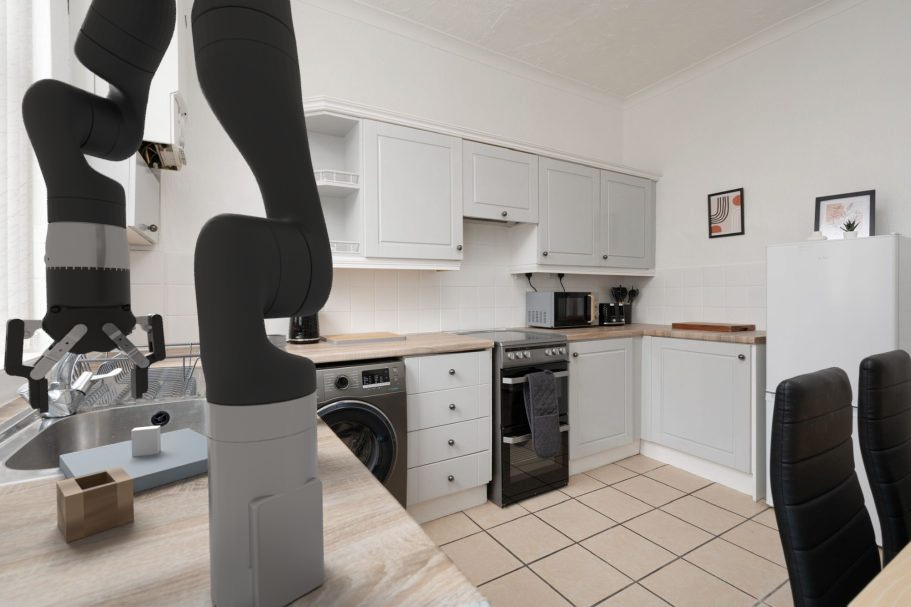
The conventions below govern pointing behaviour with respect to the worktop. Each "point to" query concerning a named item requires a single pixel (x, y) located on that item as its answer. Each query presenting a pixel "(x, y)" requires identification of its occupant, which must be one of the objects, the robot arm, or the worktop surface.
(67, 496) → the tan hollow open box
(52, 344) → the robot arm
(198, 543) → the worktop surface
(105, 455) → the flat blue-gray panel
